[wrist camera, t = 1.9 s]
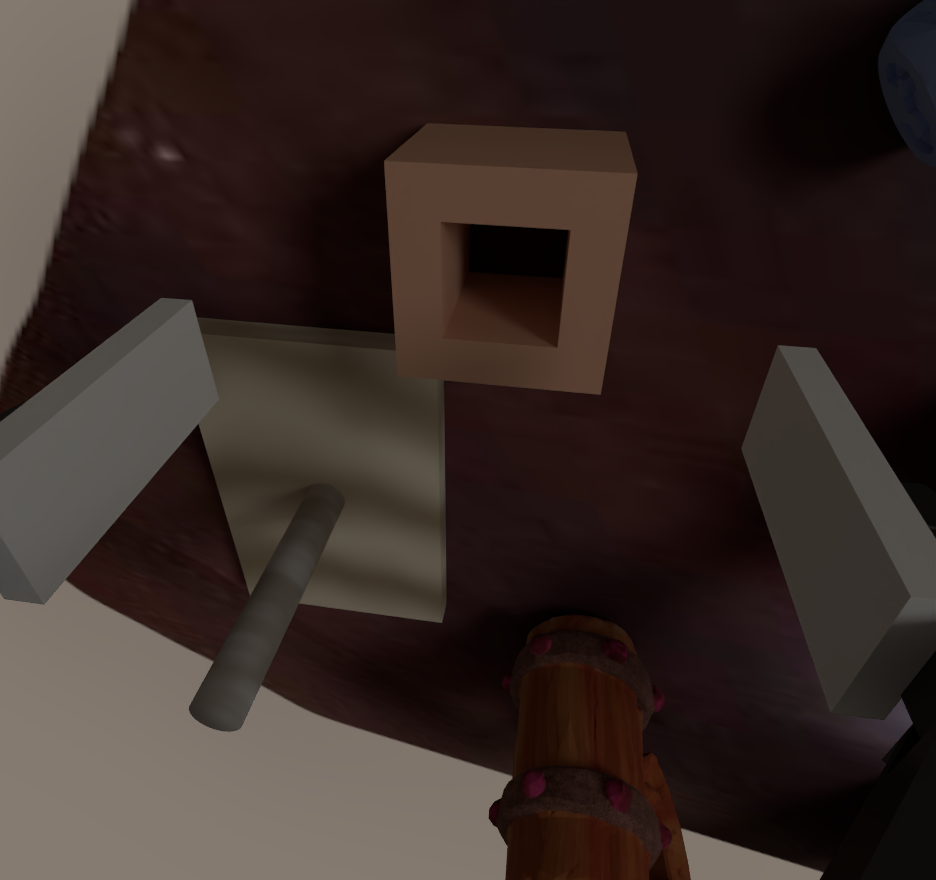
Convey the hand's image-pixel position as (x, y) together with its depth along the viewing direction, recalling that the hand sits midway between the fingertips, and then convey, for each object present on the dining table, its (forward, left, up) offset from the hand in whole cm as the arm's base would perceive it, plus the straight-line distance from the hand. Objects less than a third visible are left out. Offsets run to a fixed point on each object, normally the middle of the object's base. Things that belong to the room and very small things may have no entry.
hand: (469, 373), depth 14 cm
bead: (0, 0, -12) cm, 12 cm away
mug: (-27, -7, -12) cm, 31 cm away
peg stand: (-14, +9, -12) cm, 21 cm away
